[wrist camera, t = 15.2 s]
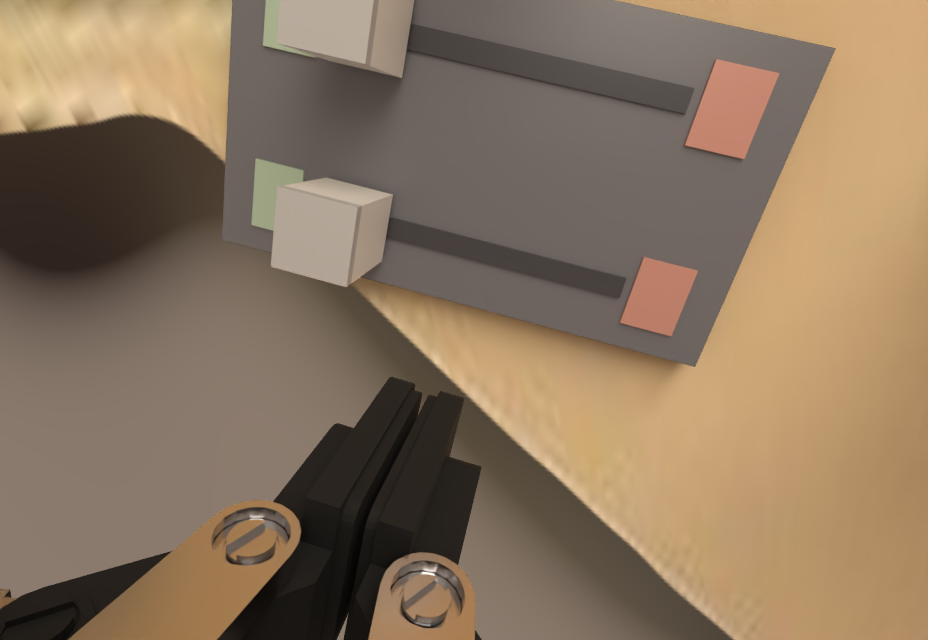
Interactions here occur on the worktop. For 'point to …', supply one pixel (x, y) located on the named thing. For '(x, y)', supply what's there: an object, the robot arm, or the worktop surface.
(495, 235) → the panel
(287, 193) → the beige slider knob
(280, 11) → the on switch
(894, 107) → the worktop surface
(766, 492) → the worktop surface
